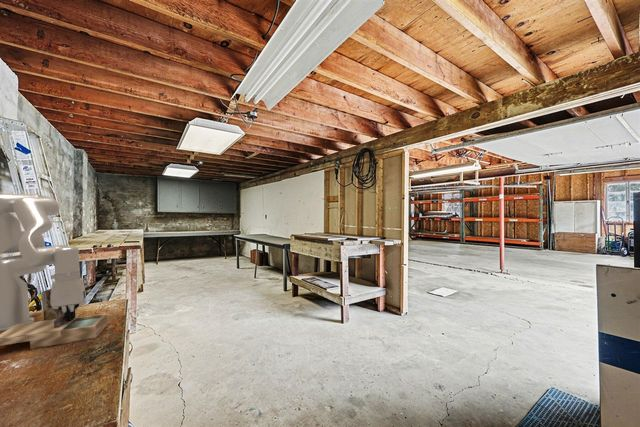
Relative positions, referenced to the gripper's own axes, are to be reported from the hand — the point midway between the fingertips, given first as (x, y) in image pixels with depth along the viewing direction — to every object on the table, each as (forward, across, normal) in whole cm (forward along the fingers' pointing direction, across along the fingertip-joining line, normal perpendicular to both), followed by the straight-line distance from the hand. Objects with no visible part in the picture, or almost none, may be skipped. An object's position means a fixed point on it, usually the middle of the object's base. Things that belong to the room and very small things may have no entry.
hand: (70, 320), depth 113 cm
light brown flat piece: (+3, -10, 0) cm, 11 cm away
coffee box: (+7, -10, +17) cm, 21 cm away
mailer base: (+6, 0, 0) cm, 6 cm away
